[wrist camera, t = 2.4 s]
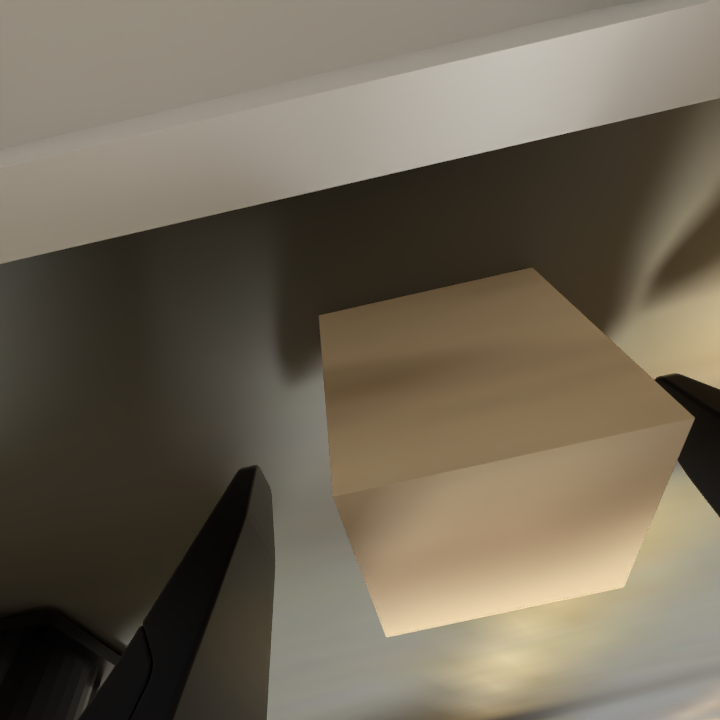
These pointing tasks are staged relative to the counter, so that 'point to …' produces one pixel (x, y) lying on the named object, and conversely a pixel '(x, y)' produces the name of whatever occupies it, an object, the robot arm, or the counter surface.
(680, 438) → the cube
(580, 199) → the counter surface
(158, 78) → the tote
